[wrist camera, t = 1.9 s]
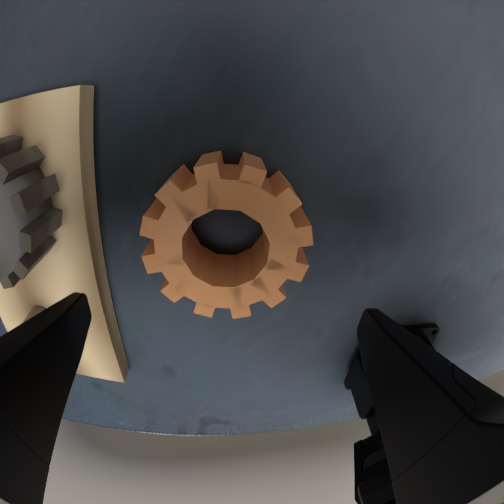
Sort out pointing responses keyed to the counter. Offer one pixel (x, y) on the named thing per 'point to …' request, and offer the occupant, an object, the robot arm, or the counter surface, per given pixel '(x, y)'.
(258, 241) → the terracotta gear
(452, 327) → the counter surface
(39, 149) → the gear board
